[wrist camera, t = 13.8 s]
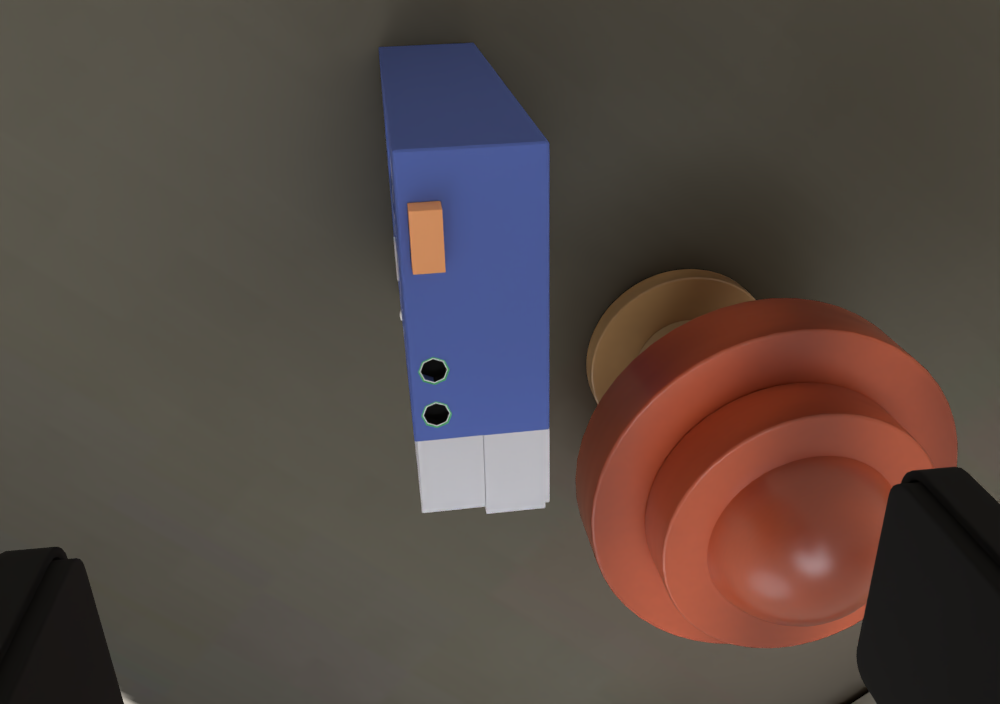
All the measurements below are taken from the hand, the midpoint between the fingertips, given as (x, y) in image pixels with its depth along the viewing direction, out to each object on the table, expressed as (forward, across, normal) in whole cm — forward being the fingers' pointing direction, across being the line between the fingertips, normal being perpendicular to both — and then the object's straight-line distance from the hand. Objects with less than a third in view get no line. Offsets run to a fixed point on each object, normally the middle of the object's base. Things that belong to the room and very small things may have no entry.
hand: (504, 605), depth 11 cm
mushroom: (+19, -8, +7) cm, 22 cm away
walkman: (+19, 0, 0) cm, 19 cm away
